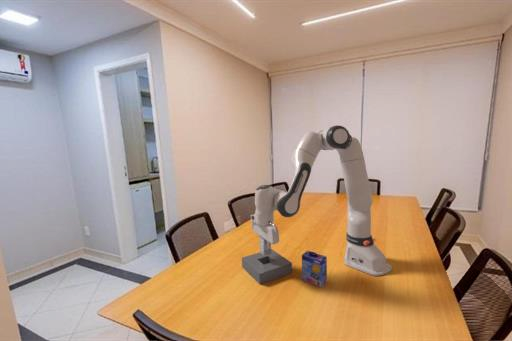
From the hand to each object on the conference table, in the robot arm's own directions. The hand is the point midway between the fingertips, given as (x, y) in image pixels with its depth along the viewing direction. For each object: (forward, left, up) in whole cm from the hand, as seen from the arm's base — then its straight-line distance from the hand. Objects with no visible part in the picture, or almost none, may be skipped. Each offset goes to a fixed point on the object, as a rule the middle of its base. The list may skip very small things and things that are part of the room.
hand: (265, 246), depth 120 cm
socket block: (0, 0, -12) cm, 12 cm away
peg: (0, 0, -4) cm, 4 cm away
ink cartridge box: (-20, -13, -12) cm, 27 cm away
